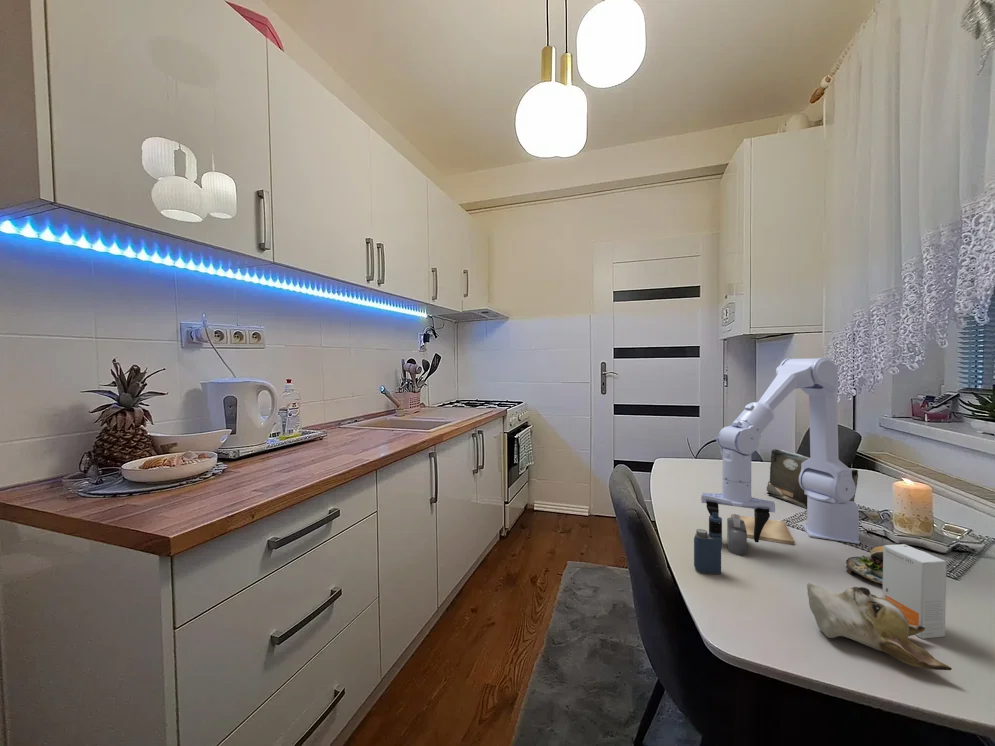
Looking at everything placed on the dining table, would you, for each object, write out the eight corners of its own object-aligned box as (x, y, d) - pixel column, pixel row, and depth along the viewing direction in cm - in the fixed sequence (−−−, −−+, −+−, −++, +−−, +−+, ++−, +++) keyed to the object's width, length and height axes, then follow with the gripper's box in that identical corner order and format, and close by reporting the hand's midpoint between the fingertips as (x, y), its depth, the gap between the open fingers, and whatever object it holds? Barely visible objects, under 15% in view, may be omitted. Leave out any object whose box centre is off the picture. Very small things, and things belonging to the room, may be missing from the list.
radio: (865, 519, 107) (865, 464, 107) (838, 522, 106) (839, 466, 105) (786, 492, 130) (787, 447, 130) (764, 494, 129) (764, 448, 128)
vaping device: (724, 575, 80) (724, 515, 80) (696, 572, 81) (696, 514, 81) (719, 568, 83) (720, 511, 82) (692, 566, 84) (692, 509, 83)
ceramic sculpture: (803, 559, 69) (926, 589, 61) (799, 607, 69) (921, 643, 61) (812, 590, 60) (958, 630, 52) (807, 645, 60) (951, 693, 52)
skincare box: (880, 615, 67) (881, 544, 67) (903, 613, 68) (904, 543, 67) (922, 640, 61) (923, 562, 61) (947, 638, 61) (948, 560, 61)
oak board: (784, 524, 104) (784, 521, 104) (794, 545, 93) (794, 541, 93) (731, 517, 110) (731, 514, 110) (734, 535, 98) (734, 532, 98)
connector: (743, 539, 96) (743, 510, 96) (747, 557, 88) (747, 525, 87) (726, 537, 98) (726, 508, 97) (729, 553, 89) (729, 522, 89)
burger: (838, 576, 80) (838, 539, 80) (853, 558, 87) (853, 524, 87) (926, 605, 70) (926, 563, 70) (934, 582, 77) (935, 543, 77)
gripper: (701, 479, 92) (701, 538, 92) (777, 488, 85) (777, 551, 86) (701, 472, 98) (701, 527, 99) (772, 479, 92) (772, 538, 92)
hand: (736, 537), depth 93 cm, fingers open, 7 cm apart
